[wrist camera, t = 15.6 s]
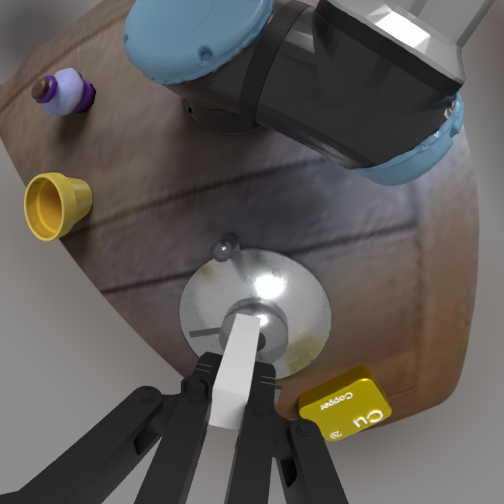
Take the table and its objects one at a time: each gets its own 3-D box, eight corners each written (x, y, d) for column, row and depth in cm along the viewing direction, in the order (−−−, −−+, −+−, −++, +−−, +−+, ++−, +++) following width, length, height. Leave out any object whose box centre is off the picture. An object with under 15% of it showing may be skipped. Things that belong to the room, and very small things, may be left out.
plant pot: (80, 239, 44) (44, 255, 34) (53, 196, 42) (16, 205, 33) (111, 202, 41) (73, 212, 32) (81, 157, 39) (42, 159, 30)
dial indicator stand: (261, 378, 48) (255, 426, 36) (283, 381, 47) (281, 430, 36) (256, 396, 49) (249, 443, 38) (276, 399, 49) (273, 446, 38)
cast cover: (215, 304, 42) (208, 318, 38) (279, 290, 41) (279, 304, 36) (235, 355, 45) (230, 372, 41) (294, 345, 43) (294, 362, 39)
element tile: (363, 360, 45) (369, 377, 41) (389, 400, 48) (395, 416, 43) (294, 395, 49) (294, 413, 44) (328, 429, 52) (330, 445, 47)
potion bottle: (100, 67, 34) (56, 49, 23) (105, 108, 37) (57, 98, 25) (65, 89, 36) (20, 80, 24) (69, 129, 38) (21, 126, 27)
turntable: (155, 250, 42) (137, 263, 36) (311, 212, 38) (316, 220, 32) (209, 382, 49) (201, 405, 43) (337, 363, 45) (343, 387, 39)
